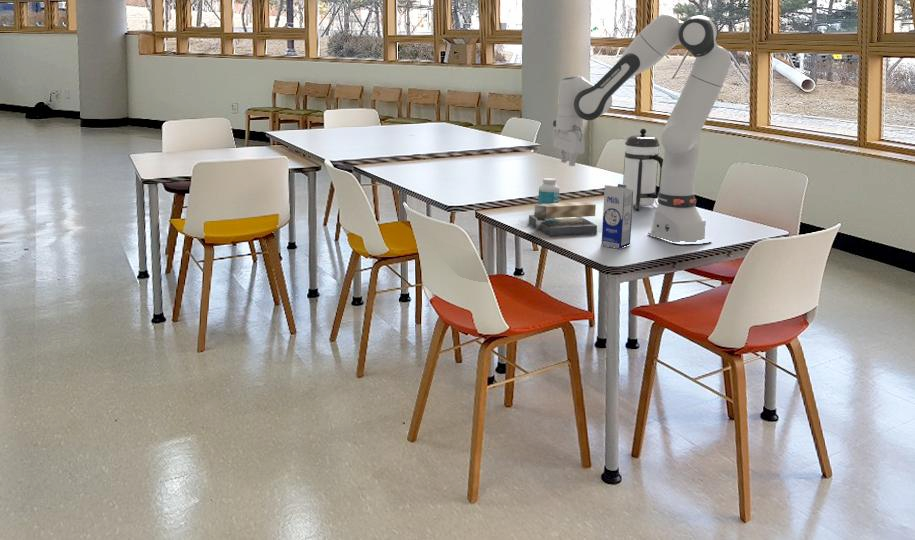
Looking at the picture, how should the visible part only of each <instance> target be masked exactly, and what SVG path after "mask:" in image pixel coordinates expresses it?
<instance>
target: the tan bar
mask: <svg viewBox="0 0 915 540" xmlns="http://www.w3.org/2000/svg"><path fill="white" fill-rule="evenodd" d="M533 215H534V217H535V218H566V217H582V218H584V217H595V216H596V204H595V203H593V202H591V201H578V202H577V201H575V202H559V203H551V204H537V203H536V204H534V214H533Z"/></svg>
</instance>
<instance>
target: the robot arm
mask: <svg viewBox="0 0 915 540" xmlns="http://www.w3.org/2000/svg"><path fill="white" fill-rule="evenodd" d="M718 34H719V30H718V27H717V24H716V23H715V21H713V20H712V18H709V17H707V16H705V15H694V16H690V17H688V18H687V19H685V20H683V21H681V20H680V19H678V17H677V16H675V15H673V14H671V13H662V14H660V15H659V16H657V17H655V19H653V20H652V21H650V23H648V24H647V25H645V27H644V28H643V29H642V30H641V31H640V32H639V33H638V34H637V35H636V36H635V37H634V38H633V40H632V41H631V42H630V43H629V45H628V46H627V48H626V49H625V51H624V52H623V53H622V55H621V56H620V58H619V59H618V60H617V62H616V63H615V64H614V65H613V66H612V67H611V69H609V71H607V72H606V74H604V75H603V76H602V77H601V78H600V79H599V80H598V81H597V82H596V83H595V84H593V83H592V82H589V81H588V80H587V79H585V77H583V76H582V75H574V76H568V77H565V78H563V79H561V81H560V82H559V87H558V95H557V105H558V110H557V115H556V118H555V119H553V120H552V122H551V125H552V127H553V129H552V143H553V146H554V148H556V149H559V154H560V162H561V163H564V164H566V163H567V162H568V165H569V167H575V166H576V160H577V158H578V156H582V155H584V154H585V151H586V150H585V149H586V148H585V147H586V146H585V143H586V141H585V139H586V138H585V133H584V132H583V131H582V130H583V126H584V124H583V122H584V120H585V121H593V120H596V119H597V118H599V117H600V116H603V115H604V114H606V113H607V112H608V111H609V110H610V109H611V107H612V105H613V98H612V96H613V95H614V94H615V93H616V92H617V91H618V90H619V89H620V88H621V87H622V86H623V85H624V84H625V83H626V82H627V81H628V80H630V79H631V78H633V77H635V76H637V75H640V74H641V73H643V72H646V71H647V70H649V69H651V68H652V67H654V66H655V65H656V64H657V63H659V62H660V61H661V60H662V59H663V58H664V57H665V56H666V55H667V54H668V53H669V52H670V51H671V50H672V49H673V48H674V47H676V46H680V45H681V46H682V47H683V48H684V49H685V50H686V51H688V52H689V53H690V54H691V55H693V56H694V57H695V60H694V63H693V66H692V68H691V71H690V73H689V75H688V78H687V79H686V81H685V84H684V87H683V89H682V91H681V93H680V95H679V97H678V99H677V101H676V103H675V105H674V107H673V109H672V111H671V114H670V115H669V117H668V120H667V121H666V123H665V125H664V128H663V130H662V132H661V136H660V137H661V138H660V139H661V144H662V146H663V148H664V153H663V158H662V159H663V164H662V169H661V183H660V192H659V193H658V192H657V193H658V198H657V205H658V206H657V205H656V207H655V208H656V209H655V208H654V209H655V210H653V214H652V222H651V226H650V227H651V228H650V231H648V232H647V235H648V234H649V235H652V236H655V237H659V238H663V239H666V240H669V241H672V242H680V241H685V242H696V241H697V240H702V239H705V235H706V220H705V219H703V218H702V217H701V215H700V213H699V211H698V209H697V207H696V205H697V204H696V203H697V199H696V196H695V191H694V190H695V179H696V178H695V177H696V169H697V162H698V156H699V148H700V139H701V132H702V130H703V127H704V125H705V123H706V121H707V119H708V117H709V115H710V113H711V112H712V110H713V108H714V105H715V103H716V101H717V98H718V96H719V94H720V92H721V90H722V88H723V86H724V83H725V81H726V78H727V75H728V72H729V70H730V69H729V68H730V65H731V62H732V56H731V54H730V52H729V51H728V50H727V49H726V48H724V47H722V46H721V45H719V44H718V42H717V39H718ZM567 153H569V156H570V157H569V159H568V156H567ZM649 235H648V236H649ZM652 236H651V237H652Z"/></svg>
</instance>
